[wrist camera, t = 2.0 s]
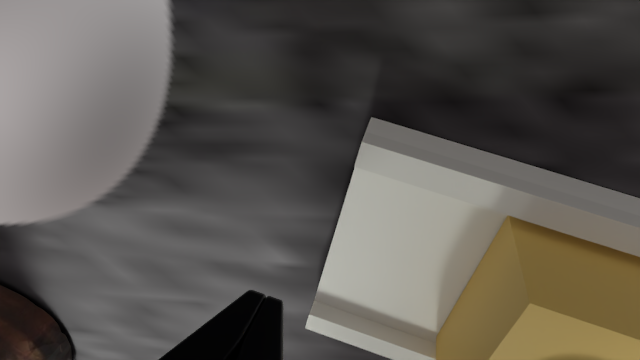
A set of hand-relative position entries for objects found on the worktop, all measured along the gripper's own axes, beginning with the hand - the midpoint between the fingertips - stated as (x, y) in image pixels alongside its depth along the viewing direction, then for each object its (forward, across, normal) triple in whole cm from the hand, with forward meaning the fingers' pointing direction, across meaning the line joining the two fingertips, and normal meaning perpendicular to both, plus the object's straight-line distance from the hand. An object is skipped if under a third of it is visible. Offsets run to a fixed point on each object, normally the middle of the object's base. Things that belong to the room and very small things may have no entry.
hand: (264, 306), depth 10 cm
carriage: (+3, -7, 0) cm, 8 cm away
